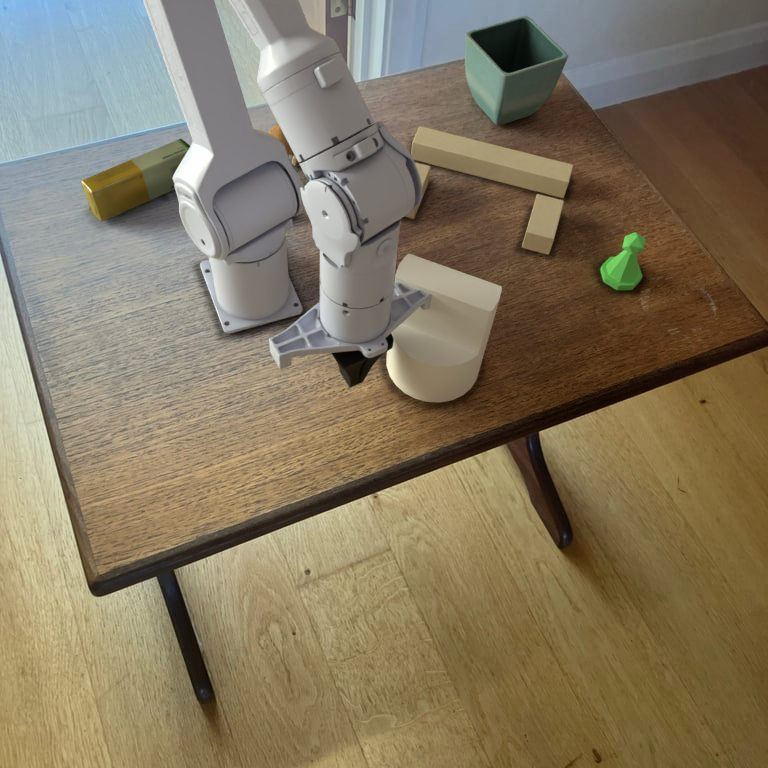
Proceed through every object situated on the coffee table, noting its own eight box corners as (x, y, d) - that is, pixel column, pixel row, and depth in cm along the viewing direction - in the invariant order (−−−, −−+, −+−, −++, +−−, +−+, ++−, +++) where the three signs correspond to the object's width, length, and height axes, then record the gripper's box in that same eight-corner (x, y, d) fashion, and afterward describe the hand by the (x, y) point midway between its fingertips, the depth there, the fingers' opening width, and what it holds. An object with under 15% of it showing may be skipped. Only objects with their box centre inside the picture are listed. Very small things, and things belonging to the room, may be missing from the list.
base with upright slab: (491, 344, 80) (515, 263, 70) (460, 416, 76) (481, 339, 66) (406, 313, 82) (418, 229, 72) (371, 381, 77) (378, 301, 67)
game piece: (636, 296, 85) (656, 257, 80) (596, 284, 86) (613, 245, 81) (643, 266, 87) (662, 227, 82) (603, 255, 88) (620, 215, 83)
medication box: (188, 167, 91) (181, 136, 88) (201, 179, 90) (195, 148, 87) (89, 210, 87) (78, 179, 83) (101, 223, 85) (90, 192, 82)
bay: (548, 255, 87) (554, 239, 85) (387, 212, 89) (389, 195, 87) (568, 181, 94) (573, 164, 92) (417, 142, 96) (419, 125, 94)
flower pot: (453, 97, 101) (463, 31, 93) (512, 79, 103) (527, 13, 96) (490, 141, 97) (504, 76, 89) (552, 121, 99) (570, 56, 92)
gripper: (294, 352, 59) (298, 443, 71) (463, 283, 64) (441, 379, 75) (253, 284, 62) (264, 381, 74) (417, 223, 67) (403, 324, 78)
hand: (351, 376), depth 75 cm, fingers closed
